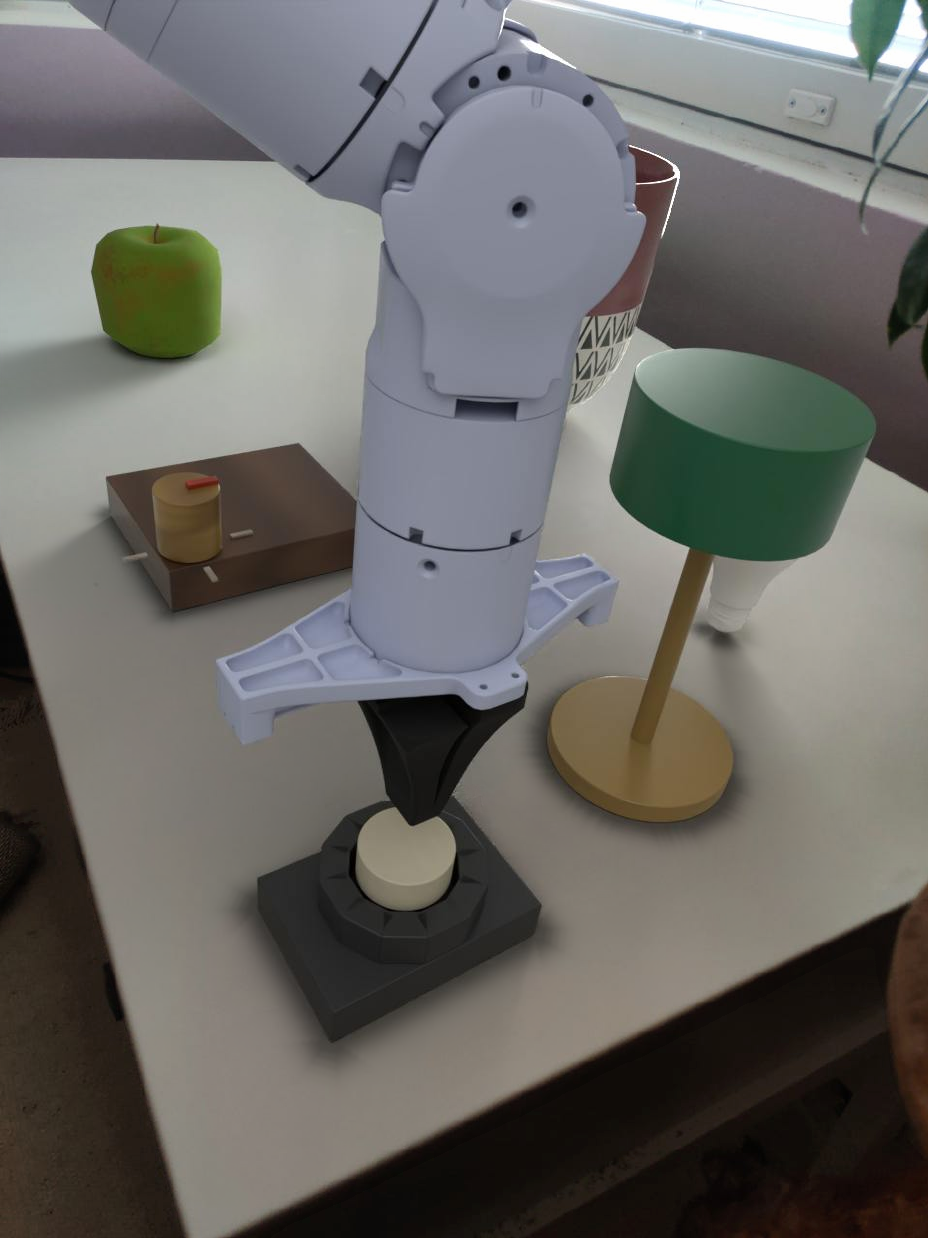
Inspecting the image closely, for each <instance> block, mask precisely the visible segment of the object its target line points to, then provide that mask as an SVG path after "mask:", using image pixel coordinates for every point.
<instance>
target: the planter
mask: <svg viewBox="0 0 928 1238" xmlns="http://www.w3.org/2000/svg"><path fill="white" fill-rule="evenodd" d="M627 145H628V149H629V152H630V153H631V154H632V155H634V157H635V167H636V192H635V201H634V205H635V206H636V208H637V211H636V212H641V213H642V214H644V216H645V217H646V225H645V228H644V232H643V235H642V238H641V240H640V243H639V246H638V248H637V250H636V253H635V255H634V257H633V259H632V260H631V262H630V264H629V266H628V268H627V269H626V271H625V272H624V274H623V275H622V277H621V278H620V280H619V281H618V282H617V284H616V285H615V286H614V287H613V289H612V290H611V291H610V292H609V293H608V294H607V295H606V296H605V297H604V298H603V299H602V300H601V301H600V302H599V303H598V304H597V305H596V306H595V307H594V308H593V309H591V310H590V311H589V312H588V313H587V314H586V316H585V317H584V318H583V321H582V326H581V331H580V336H579V341H578V346H577V351H576V356H575V361H574V366H573V370H574V377H573V383H572V388H571V392H570V397H569V402H568V407H567V412H566V413H569V412H570V411H571V412H572V411H573V410H574V409H576V408H578V407H580V406H581V405H583V404H585V403H587V402H588V401H589V400H590V399H592V398H593V397H594V396H596V394H598V393H599V392H600V391H601V390H602V389H603V388H604V387H605V386H606V384H607V383H608V382H609V380H610V379H612V376H613V375H614V374H615V372H616V370H617V369H618V367H619V365H620V364H621V361H622V360H623V358H624V356H625V353H626V351H627V349H628V347H629V345H630V343H631V340H632V337H633V335H634V332H635V329H636V325H637V322H638V320H639V317H640V312H641V309H642V306H643V302H644V300H645V296H646V292H647V289H648V287H649V283H650V281H651V280H650V279H651V276H652V273H653V269H654V266H655V263H656V259H657V255H658V252H659V248H660V244H661V241H662V238H663V235H664V232H665V229H666V225H667V221H668V219H669V216H670V213H671V208H672V205H673V202H674V198H675V195H676V190H677V187H678V184H679V181H680V180H679V179H680V171H679V169H678V167H677V166H676V165H675V164H673V163H672V162H670V161H669V160H667V159H665V158H663V157H661V156H659V155H657V154H654V153H652V152H650V151H647V150H644V149H643V148H642V149H641V148H640V147H639V148H638V147H635V146H632V145H629V144H627Z"/></svg>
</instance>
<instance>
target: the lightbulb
mask: <svg viewBox="0 0 928 1238" xmlns="http://www.w3.org/2000/svg"><path fill="white" fill-rule="evenodd" d="M799 559H800V558H797V559H792V560H785V561H771V562H765V561H748V560H738V559H733V558H727V557H721V556H717V555H715V557H714V560H713V563H712V567H713V568H712V578H711V581H710V585H709V592H710V597H709V599H708V604H707V608H706V610H705V611H706V612H705V619H706V620H707V622H708V624H709V625H710V626H712V627H713V628H714V629H715V630H716V631H718V632H721V633H735V632H738V631H740V630H742V629H743V627H744V626H745V624H746V621H747V619H748V617H749V615H750V612H751V611H752V609H753V608H754V607H755V606H756V605H757V604H758V603H759V601H760V599H761V596H762V595H763V593H764V591H765V590H766V588H767V587H768V586H769V584H770V583H771V582H773V580H774V579H775V578H776V577H778V576H779V575H780V574H782V573H784V572H785V571H786V570H788V569H789V568H790V567H791V566H793V564H795V563H796V562H797V561H798V560H799Z"/></svg>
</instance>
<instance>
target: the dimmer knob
mask: <svg viewBox="0 0 928 1238" xmlns="http://www.w3.org/2000/svg"><path fill="white" fill-rule="evenodd" d="M152 498H153V509H154V520H155V531H156V542H157V549H158V551H159V553H160V554H161V555H162V556H164V557H165V558H167V559H169V560H172V561H175V562H180V563H196V562H202V561H206V560H208V559H211V558H213V557H214V556H216V555H217V554H218V553H219V552H220V550H221V548H222V522H221V497H220V486H219V480H218V479H217V478H216V476H211V477H209V476H206V475H203V474H198V473H189V472H183V473H174V474H170V475H167V476H164V477H162V478H160V479H159V480H157V481H156V482H155V483H154V485H153V487H152Z"/></svg>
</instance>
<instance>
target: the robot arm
mask: <svg viewBox="0 0 928 1238" xmlns="http://www.w3.org/2000/svg"><path fill="white" fill-rule="evenodd" d="M67 2H68V4H69V5H70V6H71V7H72V8H74V10H76V11H77V12H79V13H80V14H81V15H83V16H84V17H85V18H86V19H88V20H89V21H90V22H92V23H93V24H94V25H96V26H97V27H99V28H100V29H101V30H102V31H104V32H106V34H108V35H109V36H110V37H112V38H113V39H114V40H116V41H117V42H118V43H119V44H121V45H122V46H123V47H125V48H126V49H127V50H129V51H130V52H131V53H133V54H134V55H135V56H136V57H138V58H139V59H140V60H141V61H143V62H144V63H146V64H147V65H148V66H150V67H151V68H152V69H154V70H155V71H156V72H157V73H158V74H160V75H161V76H163V77H164V78H166V80H168V81H169V82H171V83H172V84H173V85H175V86H176V87H177V88H178V89H180V90H181V91H183V92H184V93H185V94H187V95H188V96H189V97H190V98H191V99H194V101H195V102H198V104H199V105H201V106H202V107H203V108H205V109H206V110H208V111H209V112H210V113H211V114H213V115H214V116H215V117H216V118H218V119H219V120H220V121H221V122H223V123H224V124H226V125H227V126H228V127H229V128H231V129H232V130H234V131H235V132H236V133H237V134H239V135H240V136H242V137H243V138H244V139H246V140H247V141H248V142H249V143H251V144H252V145H254V147H256V148H258V150H259V151H262V152H263V153H264V154H265V155H266V156H268V157H269V158H271V160H273V161H274V162H276V163H277V164H278V165H279V166H281V168H284V169H285V170H286V171H288V172H289V174H292V175H293V176H294V177H295V178H297V179H298V180H299V181H301V182H303V183H304V184H305V185H306V186H307V187H308V188H310V189H311V190H312V191H314V192H315V193H316V194H318V195H319V196H321V197H323V198H325V199H329V200H335V201H339V202H345V203H350V204H354V205H358V206H361V207H363V208H366V209H368V210H370V211H372V212H373V213H375V214H377V215H378V216H379V217H380V219H381V227H382V234H383V239H384V240H383V241H381V243H380V248H379V250H380V251H379V263H378V278H377V294H376V308H375V311H376V312H375V324H374V327H373V329H372V332H371V334H370V336H369V338H368V341H367V344H366V349H365V358H364V359H365V361H364V375H363V376H364V377H363V392H362V393H363V394H362V410H361V411H362V412H361V426H360V444H359V459H358V460H359V461H358V475H357V476H358V479H357V494H356V500H357V508H356V523H355V539H354V556H353V566H352V572H351V573H352V574H351V575H352V576H351V588H349V589H347V590H346V591H344V592H343V593H340V594H339V595H337V596H335V597H334V598H332V599H330V600H329V601H328V602H326V603H324V604H322V605H320V606H319V607H318V608H316V609H314V610H313V611H311V612H309V613H308V614H306V615H305V616H303V617H301V618H299V619H297V620H296V621H294V622H293V623H291V624H289V625H287V626H286V627H284V628H283V629H281V630H279V631H278V632H277V633H275V634H273V635H271V636H270V637H268V638H265V639H264V640H262V641H260V642H259V643H256V644H255V645H253V646H250V647H248V648H245V649H243V650H241V651H238V652H235V653H231V654H228V655H226V656H222V657H219V658H217V659H215V677H216V695H217V696H216V697H217V698H216V699H217V707H218V709H219V711H220V712H221V714H222V715H223V717H224V719H225V721H226V722H227V724H228V725H229V727H230V728H231V731H232V732H233V733H234V735H235V736H236V738H237V739H238V741H239V742H240V744H241V745H242V746H246V745H249V744H252V743H255V742H258V741H262V740H264V739H267V738H270V737H271V736H272V735H273V734H274V732H275V720H276V719H278V718H282V717H284V716H287V715H290V714H293V713H294V714H295V713H296V712H299V711H302V710H306V709H309V708H311V707H314V706H317V705H320V704H331V703H333V704H334V703H345V702H357V704H358V706H359V708H360V710H361V712H362V714H363V716H364V719H365V721H366V723H367V725H368V728H369V730H370V733H371V736H372V738H373V741H374V744H375V747H376V752H377V754H378V757H379V758H378V759H379V762H380V763H379V764H380V767H381V771H382V776H383V782H384V790H385V795H386V796H387V798H388V799H389V801H392V803H393V804H394V806H395V807H396V808H397V810H398V811H399V812H400V814H401V815H402V816H403V818H404V819H405V820H406V822H407V823H408V824H409V825H410V826H415V825H418V824H420V823H422V822H425V821H427V820H430V819H432V818H434V817H437V816H439V815H440V814H441V812H442V811H443V809H444V807H445V806H446V804H447V802H448V800H449V799H450V797H452V796H453V793H454V791H455V790H456V788H457V786H458V784H459V783H460V780H461V779H462V778H463V776H464V775H465V772H466V771H467V769H468V768H469V766H470V764H471V763H472V762H473V760H474V759H475V757H476V756H477V755H478V753H479V752H480V750H482V748H483V747H484V745H486V744H487V742H488V741H489V740H490V739H491V738H492V737H493V735H494V734H495V733H496V732H497V731H498V730H499V729H501V727H502V726H504V725H505V724H506V723H507V722H508V721H509V720H510V719H511V718H513V717H515V716H516V715H517V714H518V713H520V712H521V711H522V710H524V709H525V706H526V702H527V697H528V692H529V681H528V678H529V677H528V674H527V672H526V671H525V669H524V668H523V667H521V666H522V665H523V663H525V662H526V661H527V660H528V659H530V658H531V657H533V655H534V654H535V653H537V652H538V651H539V650H540V649H541V648H543V647H544V646H545V645H546V644H547V643H548V642H550V641H551V640H552V639H554V637H555V636H556V635H558V634H559V633H560V632H562V630H564V629H565V628H566V627H568V626H569V625H570V624H571V623H572V622H573V621H574V620H578V622H579V623H580V624H581V625H583V626H584V627H587V628H593V627H596V626H598V625H602V624H604V623H608V622H609V620H610V616H611V613H612V609H613V605H614V602H615V598H616V594H617V590H618V587H619V583H620V581H619V579H618V578H617V577H615V575H613V574H612V573H611V572H609V571H608V570H607V569H606V568H605V567H603V566H602V565H601V564H600V563H599V562H597V561H596V560H595V559H594V558H593V557H591V556H590V555H589V554H588V553H580V554H577V555H573V556H568V557H561V558H554V559H538V556H539V551H540V545H541V539H542V534H543V530H544V525H545V520H546V515H547V511H548V506H549V500H550V497H551V492H552V486H553V482H554V477H555V472H556V466H557V462H558V456H559V451H560V446H561V441H562V436H563V433H564V427H565V421H566V416H567V413H568V412H567V407H568V402H569V397H570V392H571V388H572V383H573V377H574V370H573V366H574V361H575V356H576V351H577V346H578V341H579V336H580V331H581V326H582V321H583V318H584V317H585V316H586V314H587V313H588V312H589V311H590V310H591V309H593V308H594V307H595V306H596V305H597V304H598V303H599V302H600V301H601V300H602V299H603V298H604V297H605V296H606V295H607V294H608V293H609V292H610V291H611V290H612V289H613V287H614V286H615V285H616V284H617V282H618V281H619V280H620V278H621V277H622V275H623V274H624V272H625V271H626V269H627V268H628V266H629V264H630V262H631V260H632V259H633V257H634V255H635V253H636V250H637V248H638V246H639V243H640V240H641V238H642V235H643V232H644V228H645V225H646V217H645V216H644V214H642V213H641V212H636V211H637V208H636V206H635V205H634V201H635V192H636V167H635V157H634V155H632V154H631V153H630V152H629V149H628V145H629V144H628V141H627V140H628V139H630V138H631V137H630V134H629V132H628V129H627V127H626V124H625V121H624V119H623V117H622V115H621V114H620V112H619V110H618V109H617V108H616V106H615V104H614V102H613V101H612V100H611V98H610V97H609V96H608V95H607V94H606V92H604V91H603V89H602V88H601V86H599V85H598V83H596V82H595V81H594V80H593V79H591V78H590V77H589V76H587V75H586V74H585V73H583V72H582V71H581V70H579V69H578V68H577V67H575V66H574V65H571V64H570V63H568V62H567V61H566V60H563V59H562V58H561V57H559V56H557V55H556V54H554V53H552V52H551V51H549V50H548V49H546V48H544V47H543V46H541V45H540V41H539V39H538V36H537V35H536V33H535V31H534V30H532V29H531V28H530V27H528V26H526V25H524V24H523V23H520V22H518V21H516V20H513V19H510V18H507V17H506V11H507V9H508V8H509V7H510V5H511V3H512V2H513V0H67Z"/></svg>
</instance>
